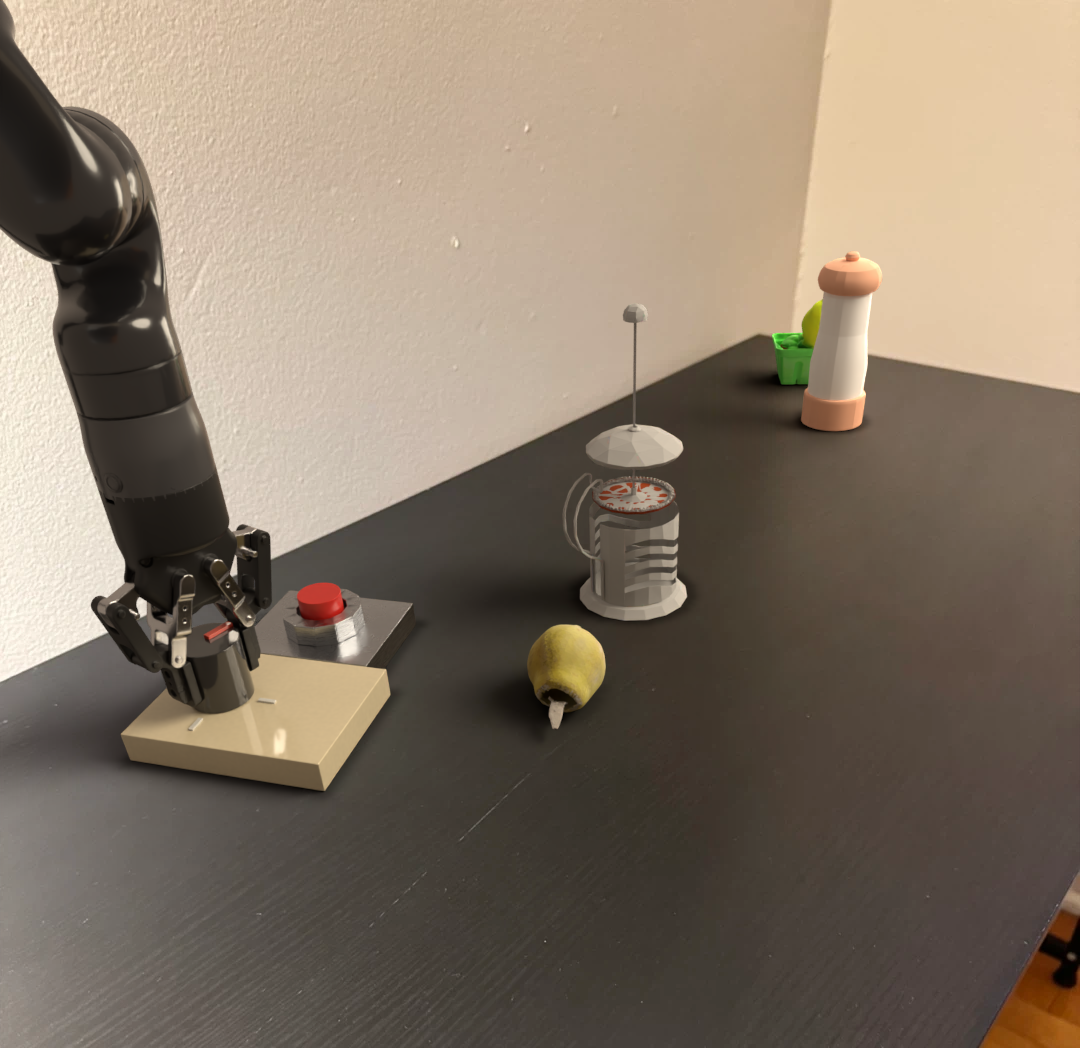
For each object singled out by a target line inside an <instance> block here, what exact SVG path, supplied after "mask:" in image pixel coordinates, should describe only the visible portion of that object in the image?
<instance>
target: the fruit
mask: <svg viewBox="0 0 1080 1048" xmlns="http://www.w3.org/2000/svg"><path fill="white" fill-rule="evenodd" d="M604 652H605V651H604V649H603V646H602V644H601V643H600V642H599V641H598V639H597V638H596V637H595V636H594V635H593V634H592V633H591V632H589V631H588V630H586V629H584V628H582V626H580V625H578V624H556V625H553V626H550V627H549V628H548V629H546V630H545V631H544V632H543V633H542V634H541V635H540V636H539V637H538V638H537V639H536V640H535V641H534V643H533V644H532V646H531V648H530V650H529V653H528V656H527V661H526V667H527V674H528V678H529V680H530V682H531V684H532V686H533V689H534V690H533V691H534V695H535V696H536V698H537V700H539V701H540V702H541V704H542V705H545V706H547V707H549V708H548V718H549V720H550V721H549V722H550V726H551V729H552V730H553V731H558V730H559V727H560V725H561V722H562V719H563V714H564V713H571V712H575V711H578V710H581V709H582V708H583V707H584V706H585V705H586V704H587V703H588V702H589V701H590V699H591V698H592V697H593V695H594V694H595V693H596V692H597V691H598V689H599V688H600V687H601V685H602V684H603V681H604V678H605V676H606V665H607V664H606V658H605V657H606V656H605V653H604Z"/></svg>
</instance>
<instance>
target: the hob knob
mask: <svg viewBox="0 0 1080 1048" xmlns="http://www.w3.org/2000/svg"><path fill="white" fill-rule="evenodd" d="M186 661H188V662H191V665H192V669H193V672H194V675H195V678H196V681H197V685H198V688H199V691H200V694H201V697H202V703H200V704H198V705H197V706H195V707H193V708H195V709H196V710H198V711H200V712H204V713H222V712H227V711H230V710H233V709H236V708H238V707H240V706H242V705H243V704H245V703H246V702H247V701H248V700H250V698H251V697H252V696H253V694H254V684H253V680H252V677H251V673H250V669H249V666H248V662H247V658H246V655H245V651H244V647H243V644H242V640H241V636H240V633H239V631H238V629H237V628H236V627H234V626H233V623H232V622H229V621H227V620H226V621H224V622H208V623H204V624H203V623H202V624H199V625H195V626H192V632H191V634H190V635H188V636H187V656H186Z"/></svg>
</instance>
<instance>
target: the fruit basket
mask: <svg viewBox="0 0 1080 1048" xmlns="http://www.w3.org/2000/svg"><path fill="white" fill-rule="evenodd" d="M822 302H823V298H822V299H820V300H818V301H817V302H815V303H814V304H813V305H812V306H811V307H810V308H809V310H807V312H806V313H805V314H804V316H803V318H802V320H801V332H774V333H772V334H771V339H772V344H773V347H774V357H775V363H776V371H777V374H778V379H779V382H780V384H781V385H786V386H787V385H789V386H790V385H808V382H809V370H810V361H811V357H812V353H813V350H814V346H815V342H816V338H817V335H818V331H819V326H820V318H821V310H822Z"/></svg>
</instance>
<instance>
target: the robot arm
mask: <svg viewBox="0 0 1080 1048" xmlns="http://www.w3.org/2000/svg"><path fill="white" fill-rule="evenodd" d="M0 231H2V233H4V234H5V236H7V237H8V238H9V239H10V240H12V241H13V242H14V243H15V244H16V245H18V246H19V247H21V248H22V249H23V250H24V251H26V252H28V253H29V254H30V255H32V256H34V257H36V258H38V259H41V260H42V261H45V262H48V263H50V264H51V268H52V273H53V276H54V279H55V280H54V281H55V285H56V290H57V308H56V311H55V312H54V317H53V319H52V327H51V328H52V337H53V343H54V348H55V352H56V355H57V358H58V361H59V364H60V367H61V370H62V373H63V376H64V379H65V382H66V386H67V389H68V391H69V394H70V397H71V400H72V403H73V407H74V409H75V412H76V415H77V416H76V417H77V419H78V423H79V424H78V425H79V428H80V434H81V439H82V444H83V445H82V446H83V449H84V452H85V455H86V458H87V462H88V464H89V468H90V470H91V473H92V477H93V479H94V482H95V485H96V487H97V491H98V493H99V497H100V500H101V503H102V506H103V509H104V511H105V515H106V518H107V520H108V525H109V526H110V529H111V533H112V535H113V538H114V541H115V543H116V546H117V548H118V550H119V552H120V554H121V556H122V558H123V561H124V573H123V584H122V585H120V586H119V587H118V588H117V589H116V590H115V591H114V592H112V593H111V594H110V595H109V596H108V597H106V596H105V595H104V596H103V595H96V596H95V597H93V598H92V600H91V602H90V608H91V611H92V612H93V614H94V615H95V616H96V618H97V619H98V620H99V622H100V623H101V624H102V627H104V629H105V630H106V632H107V633H108V634H109V636H110V638H111V639H112V640H113V642H114V643H115V645H116V646H117V647H118V649H119V651H121V653H122V655H123V656H124V657H125V659H126V660H127V662H129V663H131V664H132V665H135V666H138V667H140V668H143V669H145V670H146V671H148V672H149V673H152V674H156V673H158V672H161V675H162V678H163V682H164V684H165V687H166V688H167V690H168V693H169V695H170V696H171V697H172V698H173V699H175V700H177V701H180V702H182V703H184V704H187V705H189V706H191V707H195V706H197V705H198V704H200V703H202V697H201V694H200V691H199V688H198V685H197V681H196V678H195V675H194V672H193V669H192V665H191V662H188V661H186V656H187V636H188V635H190V634H191V632H192V628H193V615H195V614H197V613H198V612H199V611H200V610H201V609H202V608H203V607H204V606H208V605H212V604H213V606H214V607H215V608H216V609H217V611H218V612H219V613H220V615H221V616H222V617H223V618H224V619H226V621H229V622H232V623H233V626H234V627H236V628H237V629H238V631H239V633H240V636H241V640H242V644H243V647H244V651H245V655H246V658H247V662H248V666H249V669H250V671H253V670H254V669H256V668H257V667H259V661H258V659H259V658H260V653H261V650H260V646H259V643H258V639H257V635H256V631H255V623H256V620H257V617H256V616H257V615H258V613H259V612H260V611H261V610H267V609H269V608H270V607H271V605H272V602H273V590H272V589H273V588H272V587H273V586H272V582H273V581H272V546H271V542H272V541H271V534H270V533H269V532H268V531H266V530H263V529H259V528H257V527H254V526H252V525H251V526H250V525H248V524H245V523H242V524H239V525H238V526H236V529H235V530H233V531H232V530H231V529H230V528H229V527H230V515H229V511H228V507H227V504H226V500H225V495H224V493H223V488H222V484H221V480H220V475H219V472H218V468H217V465H216V462H215V461H216V460H215V457H214V453H213V450H212V449H213V448H212V446H211V442H210V438H209V433H208V431H207V428H206V424H205V421H204V418H203V416H202V413H201V411H200V408H199V406H198V404H197V401H196V398H195V395H194V393H193V389H192V385H191V380H190V376H189V373H188V369H187V366H186V361H185V357H184V353H183V349H182V346H181V343H180V339H179V336H178V333H177V330H176V328H175V325H174V321H173V317H172V312H171V307H170V297H169V288H168V277H167V268H166V259H165V252H164V246H163V236H162V231H161V224H160V218H159V211H158V207H157V202H156V198H155V194H154V189H153V185H152V182H151V180H150V176H149V174H148V170H147V168H146V166H145V163H144V161H143V158H142V156H141V155H140V153H139V151H138V149H137V148H136V146H135V145H134V143H133V142H132V141H131V139H130V138H129V136H128V135H127V134H126V133H125V132H124V130H122V129H121V127H119V126H118V125H117V124H116V123H115V122H113V121H112V120H110V119H109V118H108V117H106V116H105V115H102V114H101V113H99V112H96V111H94V110H91V109H88V108H85V107H80V106H74V105H73V106H72V105H71V106H67V105H65V106H62V105H61V104H60V102H59V101H58V100H57V98H56V97H55V96H54V95H53V93H52V92H51V90H50V89H49V87H48V86H47V85H46V84H45V82H44V81H43V80H42V78H41V77H40V75H39V74H38V72H37V71H36V70H35V68H34V67H33V66H32V64H31V63H30V62H29V60H28V58H26V56H25V55H24V53H23V52H22V50H21V49H20V48H19V46H18V45H17V43H16V24H15V20H14V18H13V14H12V12H11V11H10V9H9V7H8V6H7V4H6V2H5V1H4V0H0ZM235 557H236V576H237V577H236V579H237V580H235V579H234V578H233V576H232V575H231V572H232V567H233V564H234V561H235ZM139 598H140V599H142V600H143V601H145V602H146V624H147V627H149V630H150V639H149V637H148V635H147V634H146V633H145V631H144V629H143V628H142V627H141V626H140V624H139V622H138V621H139V620H140V619H141V614H140V613H139V609H138V607H137V602H138V600H139ZM169 615H171V616H172V617H171V616H169Z"/></svg>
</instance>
